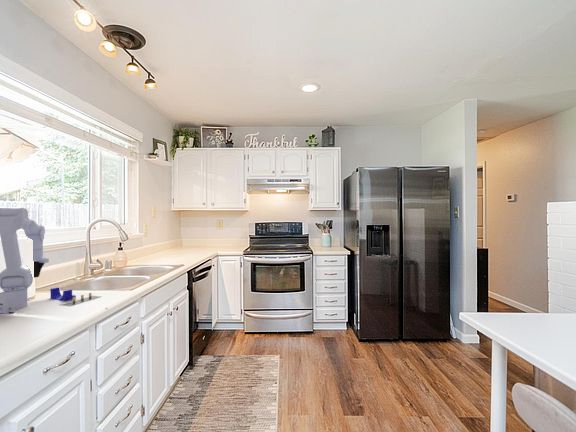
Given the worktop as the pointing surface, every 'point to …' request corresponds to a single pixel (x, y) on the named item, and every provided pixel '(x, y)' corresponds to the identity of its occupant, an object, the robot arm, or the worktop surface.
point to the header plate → (80, 301)
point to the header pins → (82, 297)
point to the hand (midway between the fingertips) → (35, 277)
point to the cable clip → (56, 295)
